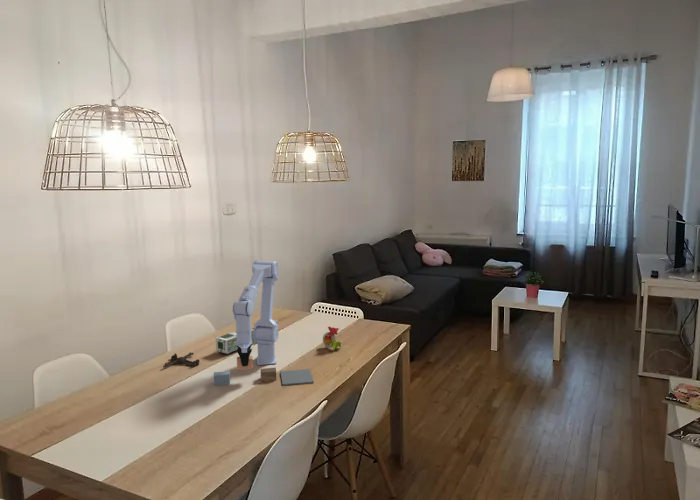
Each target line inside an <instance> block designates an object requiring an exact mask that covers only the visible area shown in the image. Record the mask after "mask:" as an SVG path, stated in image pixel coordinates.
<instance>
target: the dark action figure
mask: <svg viewBox="0 0 700 500" xmlns="http://www.w3.org/2000/svg"><path fill="white" fill-rule="evenodd" d="M194 354H195V353H194V352H191V351H190V352H189V353H188V354H186V355H184V356H180V357H178V354H177V353H174V354H173V355H171V357H170V359H167V361H168V362H169V363H164V365H163V366H162V367H163V368H164V369H165V368H168V367H169V366H171V365H174V364H176V363H177V364H180V365H185V366H188V367H192V368H196V367H197V366H199V365H200V359H195V360H193V361H192V360H188V359H186V358H188V357H190V356H193V355H194Z"/></svg>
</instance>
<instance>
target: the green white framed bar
mask: <svg viewBox="0 0 700 500" xmlns="http://www.w3.org/2000/svg"><path fill="white" fill-rule="evenodd" d="M273 320H274V319H273ZM274 321H275V322H276V323H277V324H278V325H279V321H278V320H276V319H275V320H274ZM256 322H257V321H255V322H254V324H255V323H256ZM264 327H270V326H264ZM253 330H254V327H251V338H252V346H253V345H256V340H254V338H253ZM234 341H237V337H236V331H233V332H228V333H226V334H224V335H221V336H217V337H215V349H216V350H215V351H216V352H219V353H223V354H230V353H232V352H234V351H237V349H238V347H237V345H234Z"/></svg>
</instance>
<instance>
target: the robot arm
mask: <svg viewBox="0 0 700 500" xmlns="http://www.w3.org/2000/svg"><path fill="white" fill-rule="evenodd" d="M279 268H280V267H279V263H278V262H277V261H276V260H271V261H269V260H258V259H257V260H254V261H253V262H252V266H251V270H252V272H251V273H252V276H251V279H250V281H249V284H248V285H247V286H245V287H244V289H243V290H242V293H241V295H240V296H239V299H237V300H236V301H234V303H233V305H232V314H233V316H234V320H235V329H236V330H235V332H236V337H237V341H234V345H237V347H238V349H237V350H236V352H237V355H238V357H240V359H241V364H242V366H248V362H249V356H251V354H252V351H253V349H252V346H253V345H252V338H251V329H252V314H253V312H254V307H255V300H256V298H257V296H258V295H259V292H258V288H259V286H260V285H261V283H262V288H261V289H262V292H261V305H260V307H261V308H260V317H259V318H260V319H258V320H257V321H255V322H256V323H255V322H254V326H253V328H254V330H253V338H254V340H256V342H255V344H257V356H256V365H258V366H261V365H262V366H265V365H275V364H276V365H277V359H276V354H275V351H276V350H275V349H276V348H275V347H276V346H275V342H277V340H278V338H279V323H278V324H277V323H276V322H275V321H276V320H275V321H274V319H273V310H274V309H273V308H274V293H275V282H276V281H278V279H279ZM264 326H270V327H264Z"/></svg>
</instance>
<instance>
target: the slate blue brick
mask: <svg viewBox="0 0 700 500" xmlns="http://www.w3.org/2000/svg"><path fill="white" fill-rule="evenodd" d="M230 384H231V372H230V370H226V371H214V372H213V386H222V385H230Z"/></svg>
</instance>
